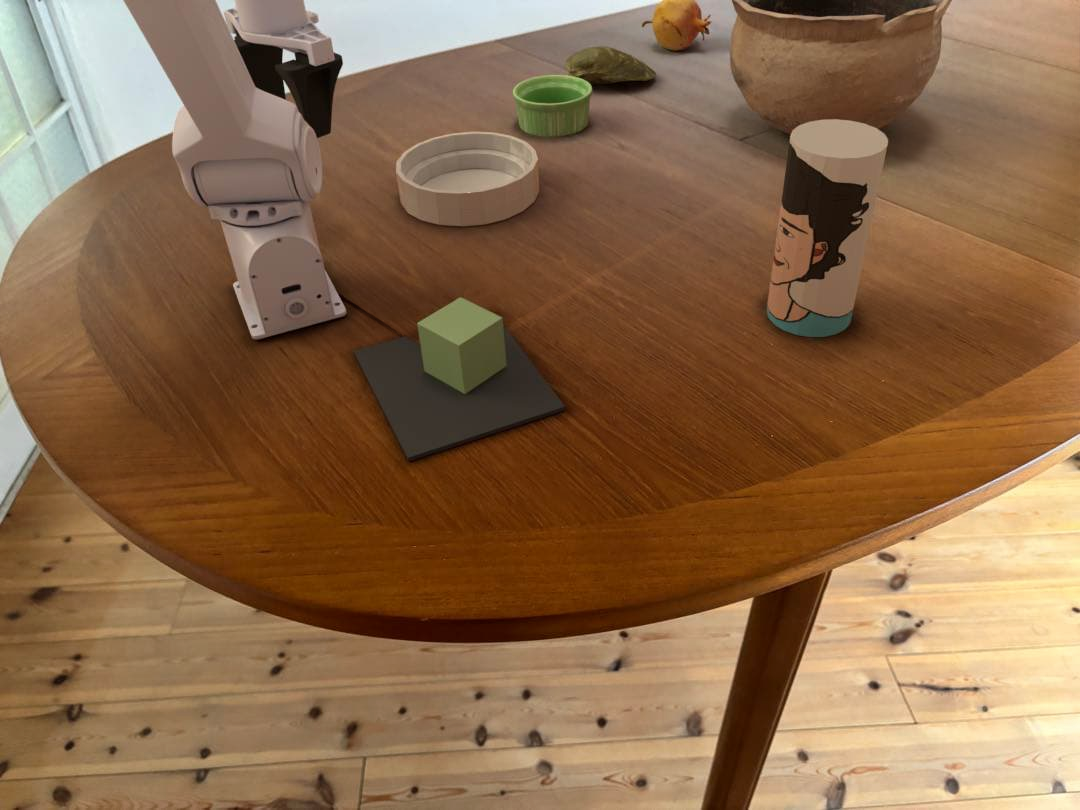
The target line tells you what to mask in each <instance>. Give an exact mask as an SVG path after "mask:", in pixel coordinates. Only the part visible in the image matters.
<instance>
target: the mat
mask: <svg viewBox="0 0 1080 810" xmlns="http://www.w3.org/2000/svg"><path fill="white" fill-rule="evenodd" d="M503 329H504V341H505V353H506V365H507V366H506V367H504V368H503V369H501V370H500V371H498V372H497V373H495V374H494V375H492V376H491V377H490V378H488V379H487V380H485V381H484V382H482V383H481V384H479V385H478V386H476V387H475V388H473V389H472V390H470V391H469V392H468V393H466V394H464V393H462V392H460V391H458V390H457V389H455V388H453V387H451V386H450V385H448V384H446V383H444V382H443V381H441V380H439V379H437V378H436V377H434V376H432V375H430V374H429V373H427V372H425V371H424V365H423V358H422V352H421V345H420V343H419V342H417V341H415V340H414V339H412V338H410V337H409V336H407V335H405V336H402V337H397V338H394V339H392V340H387V341H384V342H380V343H377V344H374V345H370V346H367V347H363V348H359V349H355V350H354V351H353V355H354V357H355V358H356V361H357V362H358V365H359V366H360V368H361V371H362V372H363V375H364V376H365V379H366V380H367V382H368V384H369V386H370V388H371V390H372V392H373V394H374V396H375V398H376V400H377V402H378V404H379V406H380V408H381V410H382V412H383V414H384V416H385V418H386V420H387V421H388V424H389V425H390V427H391V429H392V432H393V434H394V435H395V437H396V439H397V442H398V443H399V446H400V447H401V449H402V451H403V453H404V455H405V457H406V459H407V461H408V462H412V461H415V460H419V459H422V458H424V457H428V456H430V455H434V454H436V453H439V452H442V451H446V450H449V449H452V448H454V447H458V446H461V445H464V444H468V443H470V442H473V441H475V440H479V439H483V438H486V437H488V436H491V435H495V434H498V433H500V432H504V431H506V430H510V429H513V428H516V427H519V426H522V425H525V424H528V423H531V422H534V421H537V420H541V419H543V418H547V417H550V416H552V415H555V414H558V413H561V412H565V411H566V406H565V404H564V403H563V402H562V400H561V399H560V398H559V396H558V395H557V394H556V393H555V391H554V390H553V388H552V387H551V385H550V384H549V383H548V382H547V380H545V378H544V376H543V375H542V374H541V373H540V371H539V370H538V369H537V367H536V366H535V365H534V363H533V362H532V361H531V359H530V358H529V357H528V356H527V354H526V353H525V352H524V351H523V349H522V348H521V346H520V345H519V344H518V342H517V341H516V340H515V339H514V337H513V336H512V334H511V333H510V331H508V330H507V328H506V327H505V326H504V325H503Z"/></svg>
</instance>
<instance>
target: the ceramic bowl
mask: <svg viewBox="0 0 1080 810" xmlns="http://www.w3.org/2000/svg"><path fill="white" fill-rule="evenodd" d="M952 1H953V0H731V3H732V5H733V9H734V11H735V13H736V19H735V21H734V24H733V26H732V29H731V35H730V40H729V41H730V44H729V65H730V70H731V75H732V78H733V80H734V82H735V84H736V85H737V87H738V89H739V91H740V93H741V95H742V96H743V98H744V99H745V101H746V103H747V105H748V106H749V107H750V108H751V109H752V110H753V111H754V112H755V113H756V114H757V115H759V116H760V118H761V119H762V120H763V121H765V122H766V123H767V124H769V125H770V126H772V127H773V128H774V129H776V130H778V131H780V132H783V133H785V134H788V135H790V136H791V133H792V130H794V129H795V128H796V127H798V126H799V125H802V124H805V123H807V122H811V121H817V120H831V119H838V120H849V121H855V122H859V123H864V124H867V125H869V126H872V127H874V128H877V129H878V130H880V129H882V128H884V127H885V126H888V125H889V124H891V123H892V122H893V121H894V120H897V118H898V117H900V116H901V115H902V114H903V113H904V112H905V111H906V110H907V109H908V108H909V107H911V105H913V103H914V102H915V101H916V100H917V99H918V98H919V97H920V95H922V93H923V91H924V89H925V88H926V86H927V85H928V83H929V82H930V80H931V78H932V77H933V75H934V73H935V70H936V68H937V66H938V64H939V60H940V57H941V51H942V49H941V48H942V41H943V40H942V39H943V38H942V37H943V35H942V34H943V26H942V20H943V17H944V15H945V14H946V12H947V10H948V8H949V6H950V4H951V3H952Z"/></svg>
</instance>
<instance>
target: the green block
mask: <svg viewBox="0 0 1080 810" xmlns="http://www.w3.org/2000/svg"><path fill="white" fill-rule="evenodd" d="M503 319H504V318H503V317H502V316H501V315H498V314H496V313H494V312H492V311H490V310H488V309H486V308H484V307H481V306H480V305H478V304H475V302H474V303H473V302H471V301H470V300H467V299H466V298H463V297H461V296H460V297H458V298H456V299H455V300H453V301H452V302H450V303H448V304H446V305H445V306H443V307H442V308H439V309H438V310H436V311H435V312H433V313H432V314H430V315H428V316H427V317H425V318H423V319H421V320H420V321H418V322H417V323H416V325H417V332H418V338H419V344H420V345H421V352H422V358H423V365H424V371H425V372H427V373H429V374H430V375H432V376H434V377H436V378H437V379H439V380H441V381H443V382H444V383H446V384H448V385H450V386H451V387H453V388H455V389H457V390H458V391H460V392H462V393H464V394H466V393H468V392H469V391H470V390H472V389H473V388H475V387H476V386H478V385H479V384H481V383H482V382H484V381H485V380H487V379H488V378H490V377H491V376H492V375H494V374H495V373H497V372H498V371H500V370H501V369H503V368H504V367H506V366H507V365H506V353H505V341H504V329H503V326H504V320H503Z"/></svg>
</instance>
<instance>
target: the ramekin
mask: <svg viewBox="0 0 1080 810" xmlns="http://www.w3.org/2000/svg"><path fill="white" fill-rule="evenodd" d="M592 94H593V86H592V84H589V83H588V82H587V81H585V80H583V79H581V78H578V77H573V76H570V75H565V74H547V75H546V74H545V75H539V76H538V75H537V76H534V77H530V78H528V79H525V80H522V81H521V82H519V83H517V84H516V85H515V86H514V88H513V89H512V96H513V99H514V102H515V107H516V113H517V120H518V126H519V128H520V129H521V130H522V131H523V132H525V133H527V134H530V135H533V136H538V137H543V138H544V137H545V138H552V137H554V138H555V137H565V136H569V135H574V134H576V133H579V132H581V131H583V130H584V129H585V128H587V126H588V125H589V117H590V105H591V104H590V102H591V98H592Z"/></svg>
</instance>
